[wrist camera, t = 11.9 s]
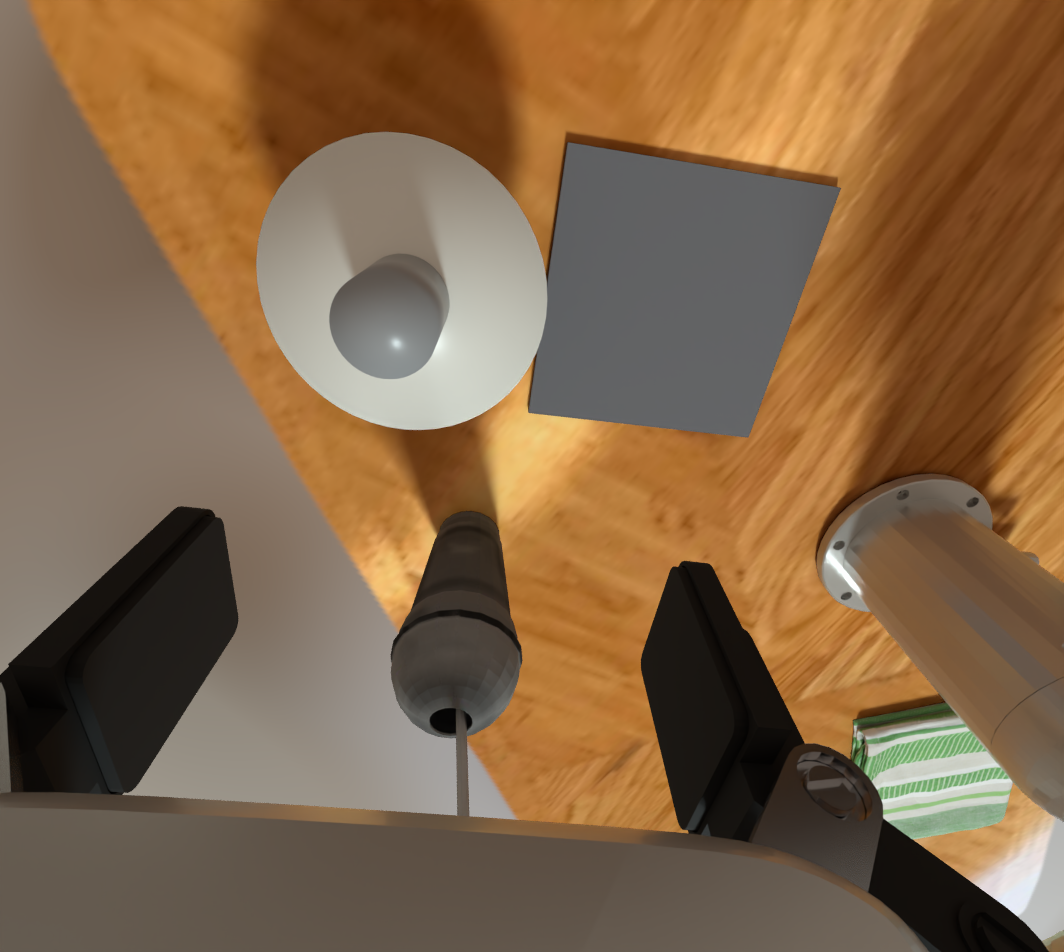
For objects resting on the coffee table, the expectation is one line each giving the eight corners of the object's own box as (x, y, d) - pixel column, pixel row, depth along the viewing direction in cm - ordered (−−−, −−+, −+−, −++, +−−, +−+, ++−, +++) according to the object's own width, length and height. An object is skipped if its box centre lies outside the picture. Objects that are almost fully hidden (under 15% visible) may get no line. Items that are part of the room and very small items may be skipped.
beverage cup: (461, 476, 37) (422, 743, 20) (538, 531, 40) (564, 810, 22) (399, 541, 40) (317, 828, 22) (476, 589, 42) (455, 880, 25)
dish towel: (841, 834, 64) (853, 860, 62) (843, 716, 53) (858, 741, 51) (996, 805, 63) (1015, 830, 60) (1032, 676, 51) (1057, 701, 49)
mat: (836, 187, 29) (841, 187, 29) (745, 434, 36) (748, 437, 36) (567, 142, 28) (568, 142, 27) (528, 410, 35) (528, 412, 35)
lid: (565, 158, 23) (583, 154, 18) (527, 433, 29) (532, 490, 24) (247, 109, 22) (165, 90, 16) (280, 408, 28) (228, 463, 23)
